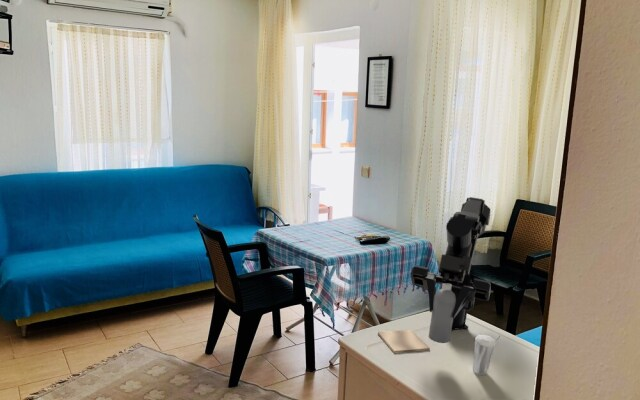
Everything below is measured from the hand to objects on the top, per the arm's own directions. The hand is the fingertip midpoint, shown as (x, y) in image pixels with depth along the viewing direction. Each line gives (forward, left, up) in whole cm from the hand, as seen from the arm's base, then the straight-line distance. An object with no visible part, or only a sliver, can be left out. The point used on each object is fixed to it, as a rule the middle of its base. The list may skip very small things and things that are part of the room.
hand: (441, 314), depth 118 cm
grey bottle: (-1, -1, -7) cm, 7 cm away
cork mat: (+3, -12, -13) cm, 18 cm away
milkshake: (-10, +5, -13) cm, 17 cm away
